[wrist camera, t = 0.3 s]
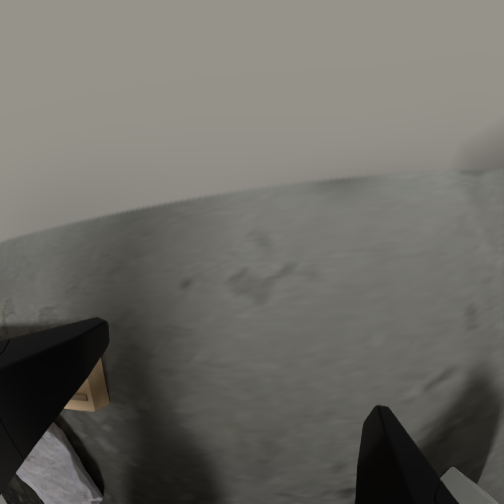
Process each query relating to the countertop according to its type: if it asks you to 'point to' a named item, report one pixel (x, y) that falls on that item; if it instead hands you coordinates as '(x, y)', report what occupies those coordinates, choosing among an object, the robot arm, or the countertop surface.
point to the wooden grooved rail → (91, 392)
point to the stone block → (58, 471)
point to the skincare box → (465, 488)
